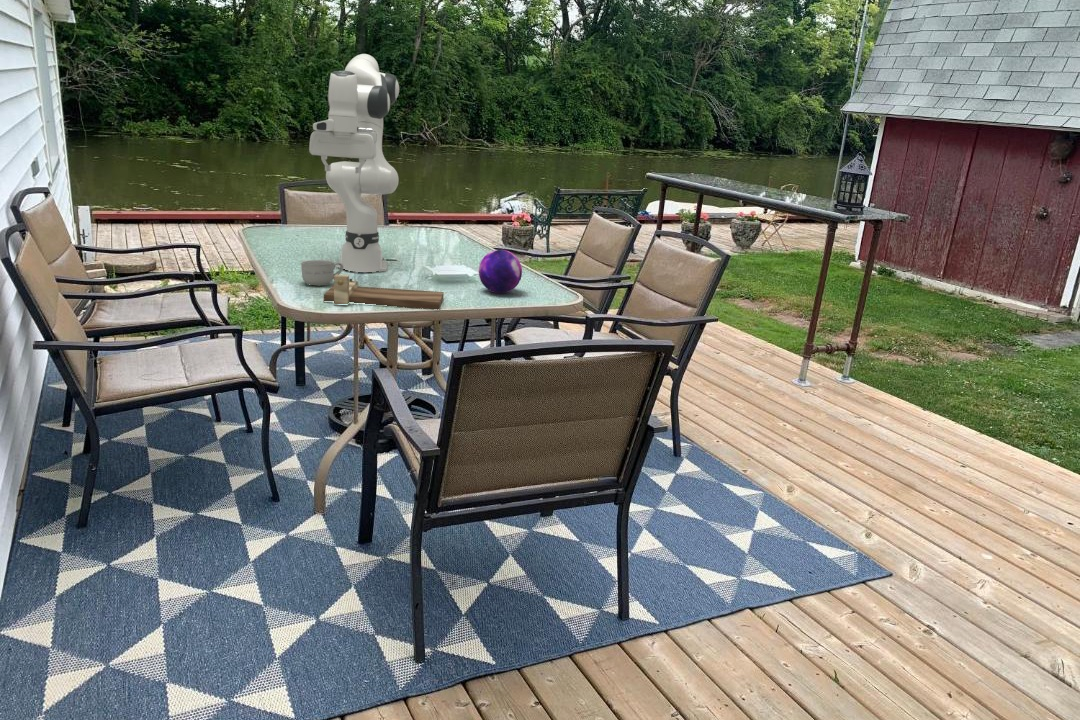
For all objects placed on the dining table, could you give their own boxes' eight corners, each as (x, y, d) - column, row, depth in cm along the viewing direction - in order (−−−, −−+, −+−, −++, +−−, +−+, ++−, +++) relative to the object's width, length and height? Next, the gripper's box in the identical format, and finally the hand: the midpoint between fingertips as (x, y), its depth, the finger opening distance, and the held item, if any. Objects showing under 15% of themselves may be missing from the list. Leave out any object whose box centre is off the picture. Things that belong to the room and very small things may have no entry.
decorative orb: (488, 285, 291) (490, 244, 286) (527, 291, 286) (529, 249, 281) (470, 293, 277) (472, 250, 273) (510, 300, 272) (513, 256, 268)
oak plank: (333, 292, 265) (333, 284, 264) (443, 299, 266) (443, 291, 266) (323, 302, 252) (323, 294, 251) (439, 309, 253) (439, 302, 252)
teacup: (301, 288, 267) (301, 264, 265) (301, 280, 277) (300, 257, 275) (344, 288, 271) (344, 264, 269) (342, 281, 281) (342, 258, 279)
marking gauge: (345, 293, 264) (345, 266, 261) (357, 293, 264) (357, 266, 262) (333, 305, 248) (333, 276, 245) (346, 306, 248) (346, 277, 245)
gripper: (378, 128, 252) (378, 174, 255) (312, 123, 251) (313, 169, 255) (375, 128, 245) (374, 175, 249) (307, 123, 245) (308, 170, 248)
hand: (343, 172), depth 252 cm, fingers open, 8 cm apart
